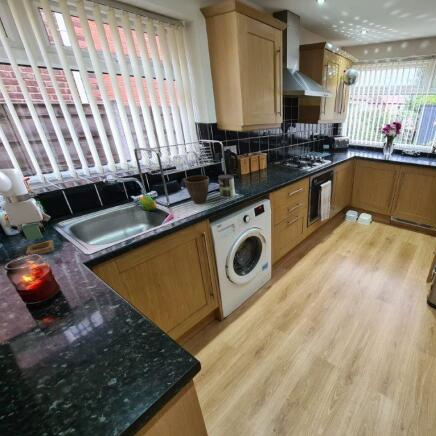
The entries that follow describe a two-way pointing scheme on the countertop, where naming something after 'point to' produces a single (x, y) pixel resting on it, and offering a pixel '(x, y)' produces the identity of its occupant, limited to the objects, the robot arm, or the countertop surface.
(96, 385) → the countertop surface
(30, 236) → the green pad
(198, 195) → the flower pot
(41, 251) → the base pad
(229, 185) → the coffee can
